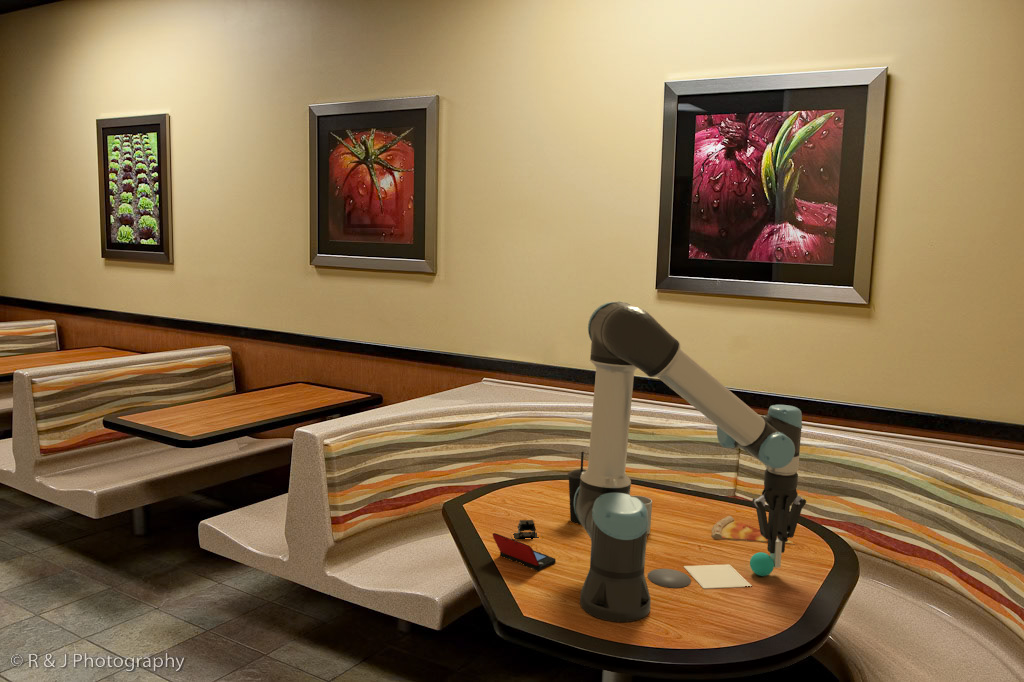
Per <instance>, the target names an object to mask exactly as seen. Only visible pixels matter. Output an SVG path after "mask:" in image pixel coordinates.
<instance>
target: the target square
mask: <svg viewBox="0 0 1024 682" xmlns="http://www.w3.org/2000/svg"><path fill="white" fill-rule="evenodd" d="M683 568H684V569H685V570H686V571H687V572H688V574H689V575H690V576H691V577H692V578H693V579H694V580H695V581H696V583H698V585H700V587H701V588H702V589H704V590H709V589H710V590H711V589H729V588H731V589H732V588H752V587H753V585H752V584H751V583H750V582H749V581H748V580H746V579H745V577H743V576H742V575H741V574H740V573H739V572H738V571H737V570H736V569H735V568H734V567H733V566H732V565H731V564H729V563H726V564H710V565H709V564H708V565H707V564H705V565H702V564H701V565H699V564H698V565H684V566H683ZM745 586H747V587H745ZM748 586H750V587H748ZM751 586H752V587H751Z"/></svg>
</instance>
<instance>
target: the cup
mask: <svg viewBox="0 0 1024 682" xmlns="http://www.w3.org/2000/svg"><path fill="white" fill-rule="evenodd" d="M631 496H632V497H636V498H638V499H639V500H641V501H642V502H643V503H644V504H645V506H646V508H647V513H648V528H647V534H648V535H649V534H650V532H651V525H652V512H653V511H652V510H653V500H652V499H651V498H649V497H647V496H643V495H631Z"/></svg>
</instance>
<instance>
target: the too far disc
mask: <svg viewBox="0 0 1024 682" xmlns="http://www.w3.org/2000/svg"><path fill="white" fill-rule="evenodd" d="M647 578H648V580H649V582H651V583H653V584H655V585H657V586H659V587H663V588H671V589H680V588H685V587H688V586H689V585H690V584H691V582H692V580H691V579H692V578H691V577H690V576H689V575H688V574H686V573H685V572H683V571H680V570H677V569H671V568H657V569H652V570H650V571H649V572H647Z"/></svg>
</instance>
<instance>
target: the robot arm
mask: <svg viewBox="0 0 1024 682" xmlns="http://www.w3.org/2000/svg"><path fill="white" fill-rule="evenodd" d="M587 331H588V337H589V339H590V341H591V344H590V346H591V347H590V359H589V361H590V362H591V363H592V364H593V366H594V367H595V379H594V380H595V381H594V392H593V400H592V402H593V403H592V414H591V426H590V438H589V448H588V449H589V450H588V452H589V453H588V461H587V462H588V463H587V468H586V469H585V470H586V471H585V472H584V473H583V474H581V477H580V486H579V487H578V489H577V491H576V493H575V496H574V510H575V514H576V516H577V518H578V520H579V522H580V523H581V524H580V525H581V526H582V528H583V529H584V531H585V532H586V533H587V535H588V537H589V538H590V541H591V542H590V559H589V560H590V563H589V570H588V571H587V575H586V577H585V580H584V582H583V585H582V587H581V590H580V598H579V604H580V606H581V608H582V610H584V611H585V613H587V614H588V615H591V616H593V617H595V618H598V619H601V620H604V621H610V622H616V623H626V622H628V623H629V622H634V621H638V620H642V619H644V618H645V617H646V616H648V615H649V613H650V611H651V604H652V603H651V602H652V600H651V594H650V590H649V587H648V584H647V580H646V576H645V566H646V550H647V537H648V535H647V528H648V513H647V508H646V506H645V504H644V503H643V502H642V501H641V500H639V499H638V498H636V497H632V496H633V495H631V486H632V481H631V478H630V477H629V476H628V475H627V474H626V465H627V458H628V457H627V456H628V455H627V454H628V445H629V433H630V421H631V411H632V401H633V400H632V399H633V398H632V397H633V389H634V377H635V371H636V370H637V369H638V370H640V371H641V372H643V373H644V374H645V375H646V376H648V377H649V378H656V377H657V378H658V379H659V380H660V381H661V382H663V383H664V384H665V385H666V386H667V387H669V389H671V390H672V391H674V392H675V393H676V394H677V395H679V397H681V398H682V399H683V400H684V401H686V402H687V403H688V404H689V405H691V407H693V408H695V409H696V410H697V411H698V412H700V413H701V414H702V415H703V416H705V417H706V418H707V419H708V420H710V421H711V423H713V424H715V426H716V436H717V441H718V443H719V445H720V446H721V447H723V448H725V449H732V450H733V449H741V450H742V451H744V452H745V453H747V454H749V455H751V456H752V457H753V458H755V459H757V460H758V461H760V462H761V463H762V464H763V465H764V468H766V469H765V470H764V474H763V475H764V476H763V478H764V479H763V486H764V487H763V490H762V492H761V495H760V496H759V497H757V498H756V497H753V498H752V503H753V505H754V507H755V510H756V514H757V515H756V516H757V522H758V527H759V530H760V533H761V535H762V536H763V537H765V538H766V539H768V543H767V552H769V556H770V557H771V558H772V560H773V562H774V568H775V569H777V568H781V565H782V564H781V563H782V554H783V553H785V548H786V544H785V542H787V541H788V540H789V539H791V538H794V536H795V532H796V529H797V526H798V523H799V519H800V516H801V513H802V509H803V508H804V506H805V505H806V503H807V499H805V498H803V497H802V496H800V495H798V491H797V489H798V482H799V481H798V479H799V473H798V472H799V471H800V469H799V468H800V467H799V465H800V451H801V450H800V449H801V439H802V438H801V437H802V429H803V416H802V413H803V412H802V411H801V409H800V408H798V407H796V406H793V405H786V404H772V405H770V406H769V408H768V411H767V414H762V415H761V414H758V413H757V412H756V411H755V410H754V409H752V408H751V407H750V406H749V405H748V404H746V402H744V401H743V400H741V398H739V397H738V396H737V395H736V394H735V393H733V392H732V391H731V390H730V389H728V387H726V386H725V385H724V384H723V383H721V381H719V380H718V379H716V378H715V377H714V376H713V375H712V374H711V373H709V372H708V370H705V368H703V367H702V366H701V365H700V364H698V363H697V362H696V361H695V360H694V359H693V358H691V357H690V356H689V355H688V354H687V353H685V352H684V351H683V350H682V349H681V342H679V340H678V339H676V338H675V337H674V336H673V335H672V334H670V333H669V331H668V330H666V329H665V328H664V327H663V326H662V325H661V324H660V323H659V322H658V321H657V320H656V319H655V318H654V317H653V316H652V315H651V314H650V313H649V312H648V311H646V310H645V309H643V308H641V307H638V306H634V305H631V304H629V302H622V301H610V302H609V301H608V302H606V303H604V304H601V305H600V306H598V307H597V308H596V309H595V310H594V311H593V312H592V314H591V315H590V317H589V320H588V325H587ZM766 504H767V510H766V508H765V507H766ZM766 511H768V515H767V512H766ZM777 536H778V538H777Z"/></svg>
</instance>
